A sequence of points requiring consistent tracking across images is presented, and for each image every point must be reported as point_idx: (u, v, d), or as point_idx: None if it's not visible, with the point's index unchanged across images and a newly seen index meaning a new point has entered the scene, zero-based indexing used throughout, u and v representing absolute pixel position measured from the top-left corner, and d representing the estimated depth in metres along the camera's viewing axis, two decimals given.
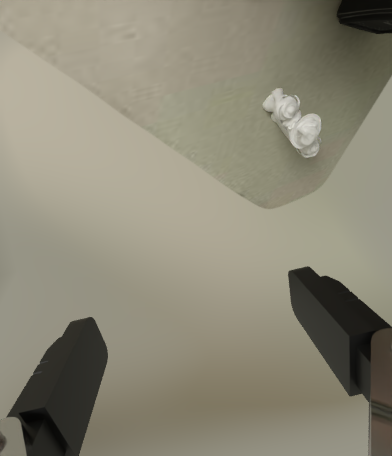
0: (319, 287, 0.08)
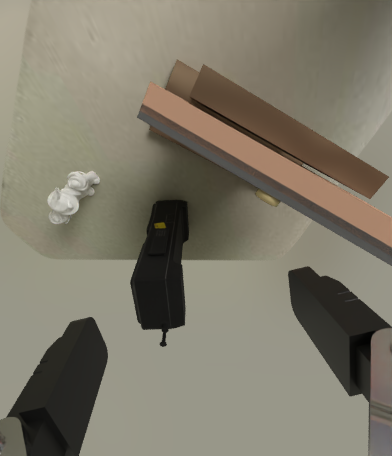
0: (319, 287, 0.08)
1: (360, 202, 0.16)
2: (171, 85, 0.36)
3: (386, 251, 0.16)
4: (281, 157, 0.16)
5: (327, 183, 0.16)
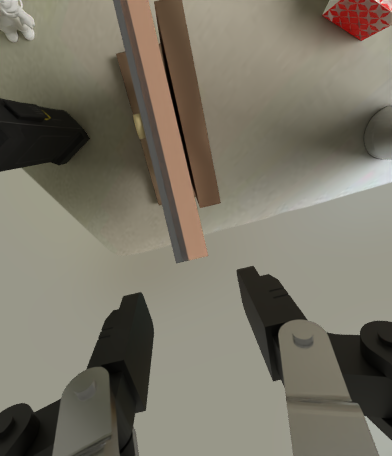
0: (255, 284, 0.09)
1: (188, 177, 0.19)
2: (161, 48, 0.38)
3: (175, 225, 0.19)
4: (171, 102, 0.19)
5: (181, 146, 0.19)
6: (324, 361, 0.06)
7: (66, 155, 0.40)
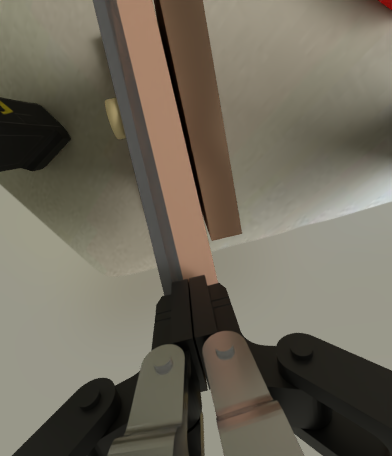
0: (200, 294, 0.09)
1: (197, 204, 0.11)
2: None
3: None
4: (168, 77, 0.11)
5: (185, 152, 0.11)
6: (235, 373, 0.06)
7: (41, 159, 0.33)
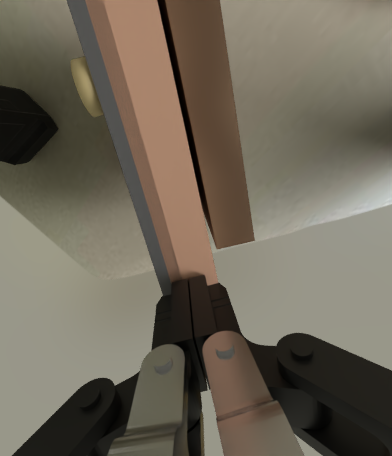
0: (200, 294, 0.09)
1: (199, 208, 0.10)
2: None
3: None
4: (161, 33, 0.08)
5: (186, 146, 0.09)
6: (235, 373, 0.06)
7: (24, 151, 0.29)
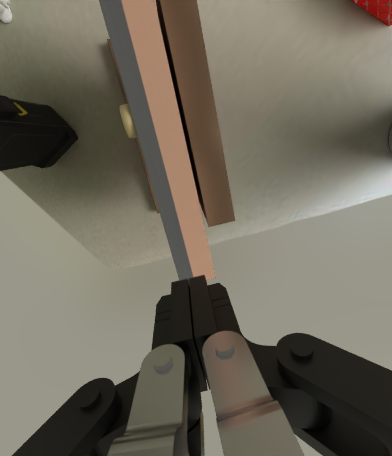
0: (200, 294, 0.09)
1: (195, 195, 0.15)
2: None
3: (180, 248, 0.17)
4: (173, 92, 0.13)
5: (187, 156, 0.14)
6: (235, 373, 0.06)
7: (50, 157, 0.35)
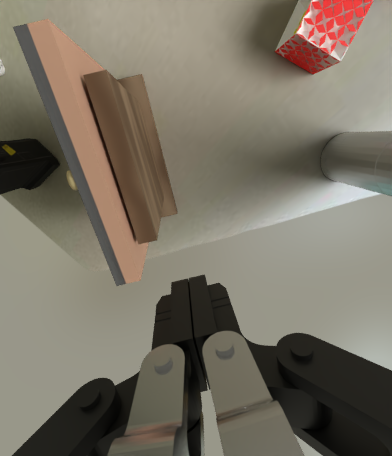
0: (200, 294, 0.09)
1: (120, 226, 0.23)
2: (123, 82, 0.41)
3: (113, 260, 0.25)
4: (98, 165, 0.21)
5: (112, 202, 0.23)
6: (235, 373, 0.06)
7: (36, 181, 0.43)
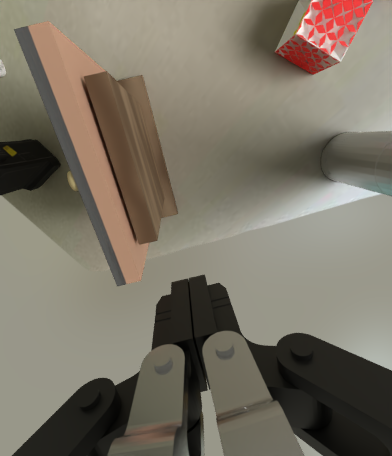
0: (200, 294, 0.09)
1: (120, 226, 0.24)
2: (124, 83, 0.41)
3: (113, 261, 0.25)
4: (99, 166, 0.21)
5: (112, 203, 0.23)
6: (235, 373, 0.06)
7: (37, 181, 0.43)
